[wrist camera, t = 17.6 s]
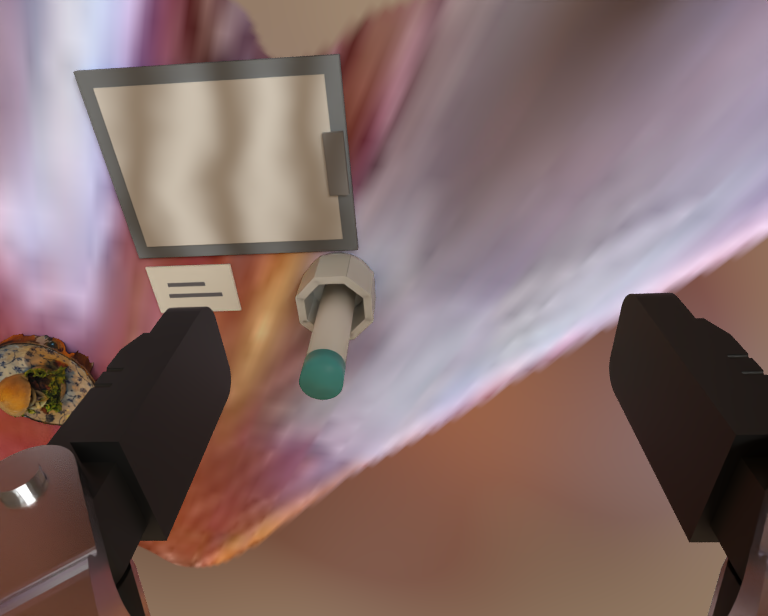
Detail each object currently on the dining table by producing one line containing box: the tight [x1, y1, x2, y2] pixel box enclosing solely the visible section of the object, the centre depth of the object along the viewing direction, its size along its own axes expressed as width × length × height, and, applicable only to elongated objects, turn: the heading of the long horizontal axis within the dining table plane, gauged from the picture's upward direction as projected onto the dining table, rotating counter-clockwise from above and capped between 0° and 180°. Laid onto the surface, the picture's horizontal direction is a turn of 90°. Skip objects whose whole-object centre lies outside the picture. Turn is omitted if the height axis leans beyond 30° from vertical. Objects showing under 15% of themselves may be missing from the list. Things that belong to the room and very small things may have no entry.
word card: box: [146, 264, 241, 313], centre depth 49 cm, size 5×8×1 cm, turn 94°
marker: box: [299, 284, 356, 400], centre depth 42 cm, size 3×3×14 cm
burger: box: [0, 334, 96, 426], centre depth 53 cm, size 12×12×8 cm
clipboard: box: [74, 54, 358, 258], centre depth 42 cm, size 20×16×1 cm
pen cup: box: [295, 252, 376, 340], centre depth 46 cm, size 6×6×4 cm
